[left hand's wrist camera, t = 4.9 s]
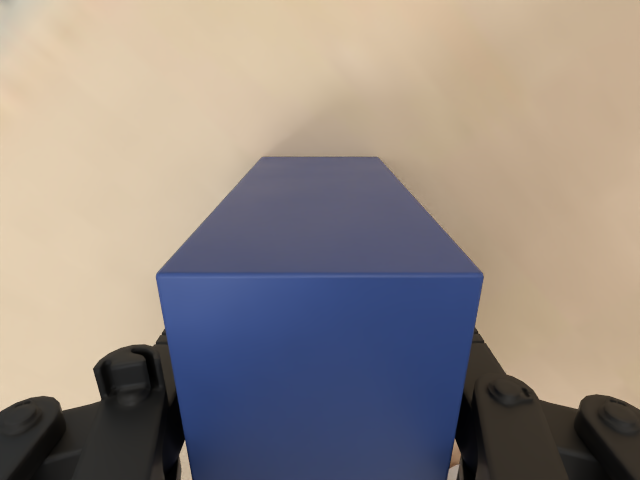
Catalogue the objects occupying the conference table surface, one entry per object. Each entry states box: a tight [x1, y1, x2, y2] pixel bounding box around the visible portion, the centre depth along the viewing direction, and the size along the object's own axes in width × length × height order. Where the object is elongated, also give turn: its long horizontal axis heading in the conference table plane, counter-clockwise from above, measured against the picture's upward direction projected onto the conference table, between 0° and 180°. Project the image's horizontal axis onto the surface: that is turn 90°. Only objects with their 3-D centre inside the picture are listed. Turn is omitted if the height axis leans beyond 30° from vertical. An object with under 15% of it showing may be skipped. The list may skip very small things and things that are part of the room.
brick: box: [156, 157, 484, 480], centre depth 12 cm, size 9×5×11 cm, turn 0°
